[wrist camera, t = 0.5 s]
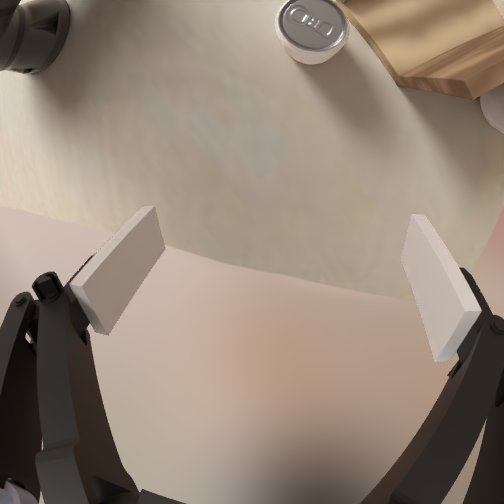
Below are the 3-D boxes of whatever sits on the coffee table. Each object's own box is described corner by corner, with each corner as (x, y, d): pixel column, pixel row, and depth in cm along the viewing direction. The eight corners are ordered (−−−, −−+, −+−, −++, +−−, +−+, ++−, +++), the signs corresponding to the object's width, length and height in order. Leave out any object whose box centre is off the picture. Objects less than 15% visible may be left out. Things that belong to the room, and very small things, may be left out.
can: (298, 10, 24) (295, -22, 14) (345, 35, 25) (366, 14, 15) (273, 49, 28) (258, 34, 18) (320, 74, 28) (329, 70, 19)
